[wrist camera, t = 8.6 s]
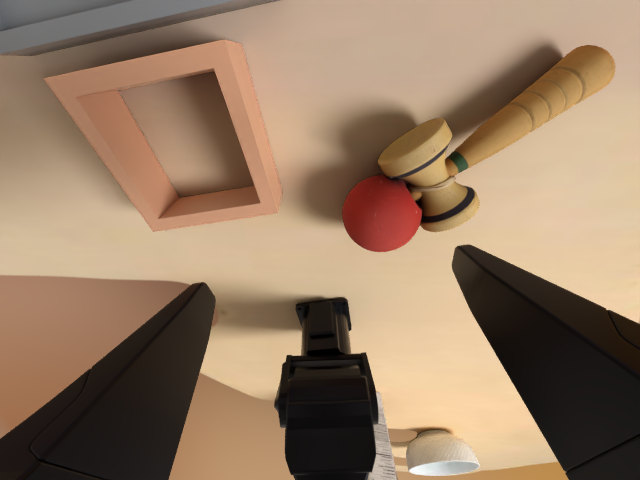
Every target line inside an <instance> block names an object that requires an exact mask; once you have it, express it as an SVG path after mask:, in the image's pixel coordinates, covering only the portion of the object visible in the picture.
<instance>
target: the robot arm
mask: <svg viewBox="0 0 640 480" xmlns="http://www.w3.org/2000/svg"><path fill="white" fill-rule="evenodd" d="M452 269H453V272H454V274H455V277H456V279H457V281H458V284H459V286H460V288H461V290H462V293H463V295H464V297H465V299H466V302H467V304H468V306H469V308H470V310H471V312H472V314H473V316H474V317H475V319H476V321H477V323H478V324H479V326H480V328H481V329H482V331H483V333H484V335H485V336H486V338H487V340H488V341H489V343H490V345H491V347H492V348H493V350H494V352H495V353H496V355H497V357H498V359H499V360H500V362H501V364H502V365H503V367H504V369H505V371H506V372H507V374H508V376H509V377H510V379H511V381H512V383H513V384H514V386H515V388H516V389H517V391H518V393H519V395H520V396H521V398H522V400H523V401H524V403H525V405H526V407H527V408H528V410H529V412H530V413H531V415H532V417H533V418H534V420H535V422H536V424H537V425H538V427H539V429H540V430H541V432H542V434H543V436H544V437H545V439H546V441H547V442H548V444H549V446H550V448H551V449H552V451H553V453H554V454H555V456H556V458H557V460H558V461H559V463H560V465H561V466H562V468H563V470H564V471H565V472H566V475H567V477H568V479H569V480H640V324H639V323H636V322H634V321H632V320H630V319H628V318H626V317H624V316H621V315H619V314H617V313H615V312H613V311H611V310H606V308H604V307H602V306H600V305H598V304H596V303H594V302H591V301H589V300H587V299H585V298H583V297H581V296H579V295H576V294H574V293H572V292H570V291H568V290H566V289H564V288H562V287H559V286H557V285H555V284H553V283H551V282H549V281H547V280H545V279H542V278H540V277H538V276H536V275H534V274H532V273H530V272H527V271H525V270H523V269H521V268H519V267H517V266H515V265H513V264H510V263H508V262H506V261H504V260H502V259H500V258H498V257H496V256H493V255H491V254H489V253H487V252H485V251H483V250H481V249H479V248H476V247H474V246H472V245H461V246H457V247H456V248H455V251H454V256H453V261H452ZM215 302H216V300H215V296H214V294H213V293H212V291H211V290H210V288H209V287H208V285H207V284H206V283H204V282H200V283H194V284H192V285H191V286H189V287H188V288H187V289H186V290H185V291H183V292H182V293H181V294H180V295H179V296H177V297H176V298H175V299H174V300H173V301H171V302H170V303H169V304H168V305H166V306H165V307H164V308H163V309H162V310H160V311H159V312H158V313H157V314H156V315H154V316H153V317H152V318H151V319H150V320H148V321H147V322H146V323H145V324H143V325H142V326H141V327H140V328H138V329H137V330H136V331H135V332H134V333H132V334H131V335H130V336H129V337H128V338H126V339H125V340H124V341H123V342H121V343H120V344H119V345H118V346H117V347H115V348H114V349H113V350H112V351H111V352H109V353H108V354H107V355H106V356H105V357H103V358H102V359H101V360H100V361H98V362H97V363H96V364H95V365H94V366H93V367H92V368H91V369H89V370H87V372H85V373H84V374H83V375H81V376H80V377H79V378H78V379H77V380H75V381H74V382H73V383H72V384H70V385H69V386H68V387H67V388H66V389H64V390H63V391H62V392H61V393H59V394H58V395H57V396H56V397H54V398H53V399H52V400H50V401H49V402H48V403H47V404H45V405H44V406H43V407H41V408H40V409H39V410H37V411H36V412H35V413H34V414H32V415H31V416H30V417H28V418H27V419H26V420H24V421H23V422H22V423H20V424H19V425H18V426H16V427H15V428H14V429H13V430H11V431H10V432H9V433H7V434H6V435H5V436H3V437H2V438H1V439H0V480H168V479H169V476H170V472H171V469H172V465H173V462H174V459H175V455H176V452H177V448H178V445H179V441H180V438H181V434H182V431H183V427H184V424H185V421H186V417H187V414H188V410H189V407H190V403H191V400H192V396H193V393H194V389H195V386H196V382H197V379H198V376H199V372H200V369H201V365H202V362H203V358H204V355H205V352H206V348H207V344H208V340H209V336H210V330H211V325H212V319H213V314H214V308H215ZM296 312H297V315H298V317H299V320H300V323H301V326H302V349H301V356H292V355H287V357H286V362H284V363H283V365H282V374H281V381H280V384H279V388H278V391H277V395H276V398H275V404H274V407H275V408H276V410H277V411H278V413H279V419H280V427H281V428H286V430H285V457H286V461H287V464H288V467H289V471H290V473H291V475H293V476H294V478H295V480H367V479H368V476H369V473H371V472H372V470H373V467H374V462H375V458H376V443H375V434H374V425H377V424H378V421H379V412H378V402H377V395H376V390H375V385H374V381H373V378H372V374H371V370H370V366H369V362H368V359H367V355H366V353H361V354H351V347H350V339H349V331H350V330H351V322H350V315H349V307H348V300H347V299H345V298H343V299H334V300H326V301H317V302H309V303H301V304H297V305H296Z"/></svg>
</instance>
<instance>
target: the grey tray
mask: <svg viewBox="0 0 640 480" xmlns="http://www.w3.org/2000/svg"><path fill="white" fill-rule="evenodd" d="M274 1H278V0H0V55H18V56H33V55H38V54H42V53H47V52H51V51H56V50H60V49H65V48H69V47H73V46H78V45H82V44H87V43H91V42H96V41H100V40H105V39H109V38H114V37H118V36H123V35H127V34H131V33H136V32H140V31H145V30H149V29H154V28H158V27H163V26H167V25H172V24H176V23H180V22H185V21H189V20H194V19H198V18H203V17H207V16H212V15H216V14H221V13H225V12H229V11H234V10H238V9H243V8H247V7H252V6H256V5H261V4H265V3H270V2H274Z"/></svg>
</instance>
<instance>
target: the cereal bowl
mask: <svg viewBox="0 0 640 480" xmlns="http://www.w3.org/2000/svg"><path fill="white" fill-rule="evenodd" d="M406 459H407V465H408V470H409V472H410V473H413V474H418V475H431V476H442V475H455V474H462V473H467V472H471V471H474V470H476V469H478V468H479V462H478V460H477V458H476V455H475V454H474V452H473V450H472V448H471V447H470V446H469V445H468V444H467V443H466V442H465V441H464V440H463V439H461V438H459V437H457V436H454V435H451V434H449V433H448V432H447V431H444V430H431V431H426V432H422V433H420V434H419V435H418V437H417V438H416V439H414V440H413V441H412V442H411V443H410V444H409V445H408V448H407V451H406Z"/></svg>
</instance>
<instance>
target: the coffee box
mask: <svg viewBox="0 0 640 480" xmlns="http://www.w3.org/2000/svg"><path fill="white" fill-rule="evenodd" d="M376 395H377V402H378V412H379V421H378V424H377V425H374V434H375V443H376V458H375V462H374V467H373V470H372V472H371V473H369V476H368V479H367V480H398V478H397V473H396V469H395V464H394V459H393V454H392V449H391V444H390V439H389V434H388V429H387V424H386V419H385V415H384V410H383V405H382V400H381V395H380V393H379V392H376Z"/></svg>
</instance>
